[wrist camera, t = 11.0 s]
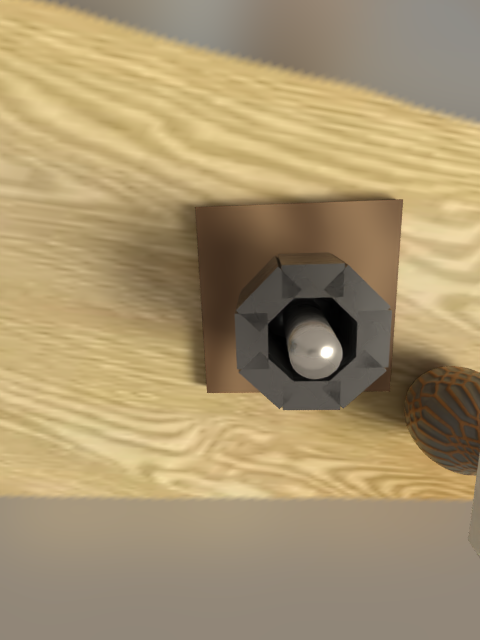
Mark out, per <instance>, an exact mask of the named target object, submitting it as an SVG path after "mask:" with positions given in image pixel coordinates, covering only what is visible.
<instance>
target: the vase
mask: <svg viewBox="0 0 480 640" xmlns="http://www.w3.org/2000/svg"><path fill="white" fill-rule="evenodd" d="M404 414H405V420H406V424H407V427H408V430H409V432H410V434H411V436H412V438H413V439H414V441H415V442H416V444H417V445H418V447H419V448H420V449H421V450H422V451H423V452H424V453H425V454H426V455H427V456H428V457H429V458H430V459H432V460H433V461H434V462H436V463H437V464H439V465H440V466H442V467H444V468H446V469H448V470H450V471H453V472H456V473H460V474H464V475H475V476H477V469H478V461H479V454H480V373H479V372H477V371H474V370H471V369H468V368H463V367H457V366H446V367H439V368H435V369H432V370H430V371H428V372H426V373H424V374H423V375H421V376H420V377H419V378H417V379H416V380H415V381H414V383H413V384H412V385H411V387H410V388H409V390H408V392H407V395H406V399H405V404H404Z"/></svg>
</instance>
